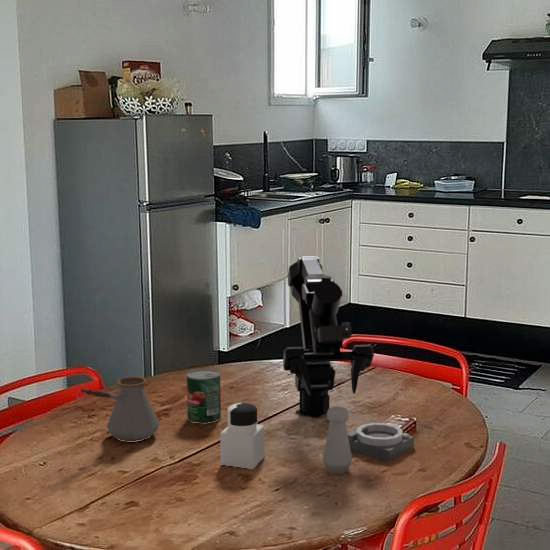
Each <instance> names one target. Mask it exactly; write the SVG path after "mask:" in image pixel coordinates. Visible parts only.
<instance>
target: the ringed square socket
mask: <svg viewBox="0 0 550 550" xmlns="http://www.w3.org/2000/svg"><path fill="white" fill-rule="evenodd" d="M347 434H348V439H349V445H350V450H351V453H355V454H358V455H363V456H366V457H369V458H372V459H377V460H380V461H383V462H387V463H391V462H392V461H394V460H395V459H397V458H400V457H401V456H403V455H405V454H406V453H407V452H410V451H411V450H413V449H414V448H415V436H414V435H410V434H409V433H407V432H405V433H403V429H402V428H400V427H399V426H398V425H394V424H389V423H381V422H374V421H370V420H369V421H367V422H366V423H364V424H362V425H360V426H357V427H356V428H354V429H351V430H350V431H347Z"/></svg>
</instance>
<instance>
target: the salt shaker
mask: <svg viewBox="0 0 550 550" xmlns="http://www.w3.org/2000/svg"><path fill="white" fill-rule="evenodd" d="M349 415H350V412H349V410H348V409H347V408H346V407H345V406H331V407H329V409H328V411H327V414H326V418H327V420H328V421H329V424H328V429H327V433H326V434H327V435H326V440H325V446H324V451H323V456H322V457H323V458H322V462H323V465H324V468H325V470H326V472H328V473H329V474H331V475H344V474H347V473H348V472H349V469H350V467H351V465H352V462H353V456H352V452H351V450H350V445H349V439H348V434H347V433H348V431H347V424H346V422H347V421H348V420H349Z"/></svg>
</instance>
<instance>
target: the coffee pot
mask: <svg viewBox="0 0 550 550" xmlns="http://www.w3.org/2000/svg"><path fill="white" fill-rule="evenodd" d="M146 383H147V379H146V378H144V377H140V376H139V377H138V376H130V377H129V376H127V377H122V378H119V379H117V381H116V384H117V386H118V387H119V393H118V394H112V393H108V392H105V391H101V390H92V389H90V388H89V389H85V388H84V389H81V390H79V391H78V392H77V393H76V397H77V399H79V400H84V399H85V397H86V394H87V395H88V396H90V395H92V396H94V397H96V398H99V397H100V398H108V399H109V398H110V399H115V400H116V401H115V404H114V407H112V411H111V414H110V416H109V419H108V422H107V424H106V428H107V430H108V432H109V434H110V435H111V436H113V438H115V439H116V438H118V439H120V440H125V441H136V440H142V439H145V438H148V437H149V436H151V437H152V436H153V435H154V434H155V433H156V432H157V431H158V428H159V426H160V420H159V419H158V416H157V415H156V412H155V410H154V408H153V406H152V404H151V402H150V400H149V398H148V396H147V394H146V391H145V390H144V388H145V384H146ZM80 392H81V393H82V394H84V396H83V397H82V398H79V396H78V395H79V393H80Z"/></svg>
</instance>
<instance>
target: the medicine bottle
mask: <svg viewBox="0 0 550 550" xmlns="http://www.w3.org/2000/svg"><path fill="white" fill-rule="evenodd" d="M219 435H220V437H219V439H220V441H219V442H220V446H219V447H220V465H221V466H222V465H226V466H225V467H228V466H234V467H233V468H236V467H241V468H240V469H243V468H247V469H246V470H251V469H253V470H254V469H255V468H256V467H257V465H259V464H260V463H261V462H262V460H263V459H264V458H265V457H266V455H265V453H266V451H265V447H266V446H265V442H266V441H265V437H266V436H265V425H264V424H258V408H257V407H256V405H254V404H251V403H248V402H238V403H234V404H231V405H229V406H228V407H227V426H226V427H225V429H223V430H221V432H220V433H219ZM258 463H259V464H258Z"/></svg>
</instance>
